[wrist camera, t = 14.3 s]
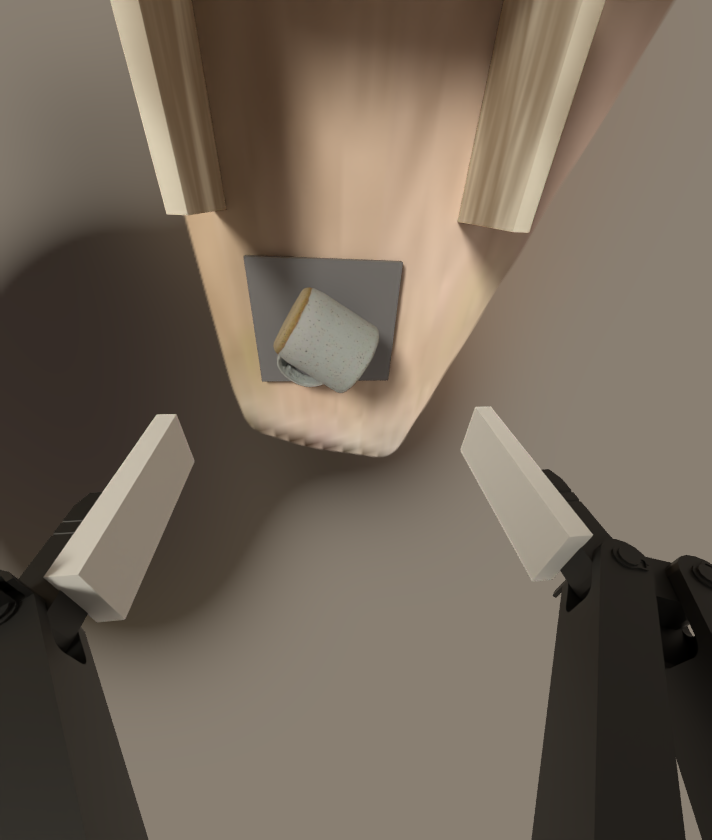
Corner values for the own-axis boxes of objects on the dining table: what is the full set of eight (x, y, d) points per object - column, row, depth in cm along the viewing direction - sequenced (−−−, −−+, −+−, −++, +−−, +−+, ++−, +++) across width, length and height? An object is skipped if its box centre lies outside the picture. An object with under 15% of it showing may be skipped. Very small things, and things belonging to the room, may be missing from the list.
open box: (211, 208, 26) (166, 214, 18) (136, -189, 16) (-42, -573, 8) (469, 222, 29) (528, 232, 21) (545, -109, 19) (715, -335, 11)
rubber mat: (263, 378, 36) (262, 381, 36) (245, 255, 28) (243, 256, 28) (386, 377, 38) (388, 380, 37) (400, 261, 30) (402, 262, 30)
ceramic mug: (306, 272, 29) (303, 294, 23) (374, 317, 32) (387, 347, 26) (261, 359, 34) (248, 396, 28) (324, 390, 37) (325, 430, 31)
